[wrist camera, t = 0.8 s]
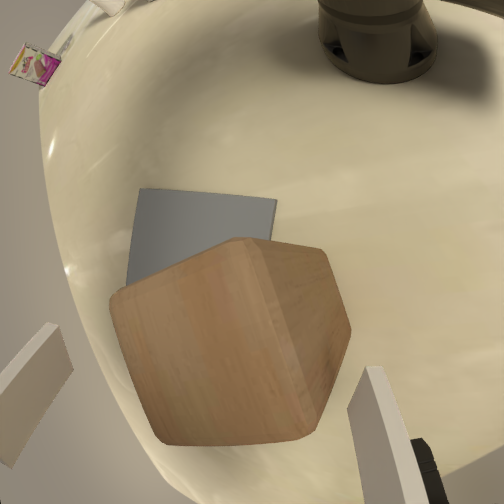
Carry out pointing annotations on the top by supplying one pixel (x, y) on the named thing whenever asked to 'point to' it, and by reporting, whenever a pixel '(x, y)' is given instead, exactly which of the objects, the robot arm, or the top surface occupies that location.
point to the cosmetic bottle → (109, 6)
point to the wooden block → (234, 343)
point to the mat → (191, 226)
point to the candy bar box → (34, 64)
